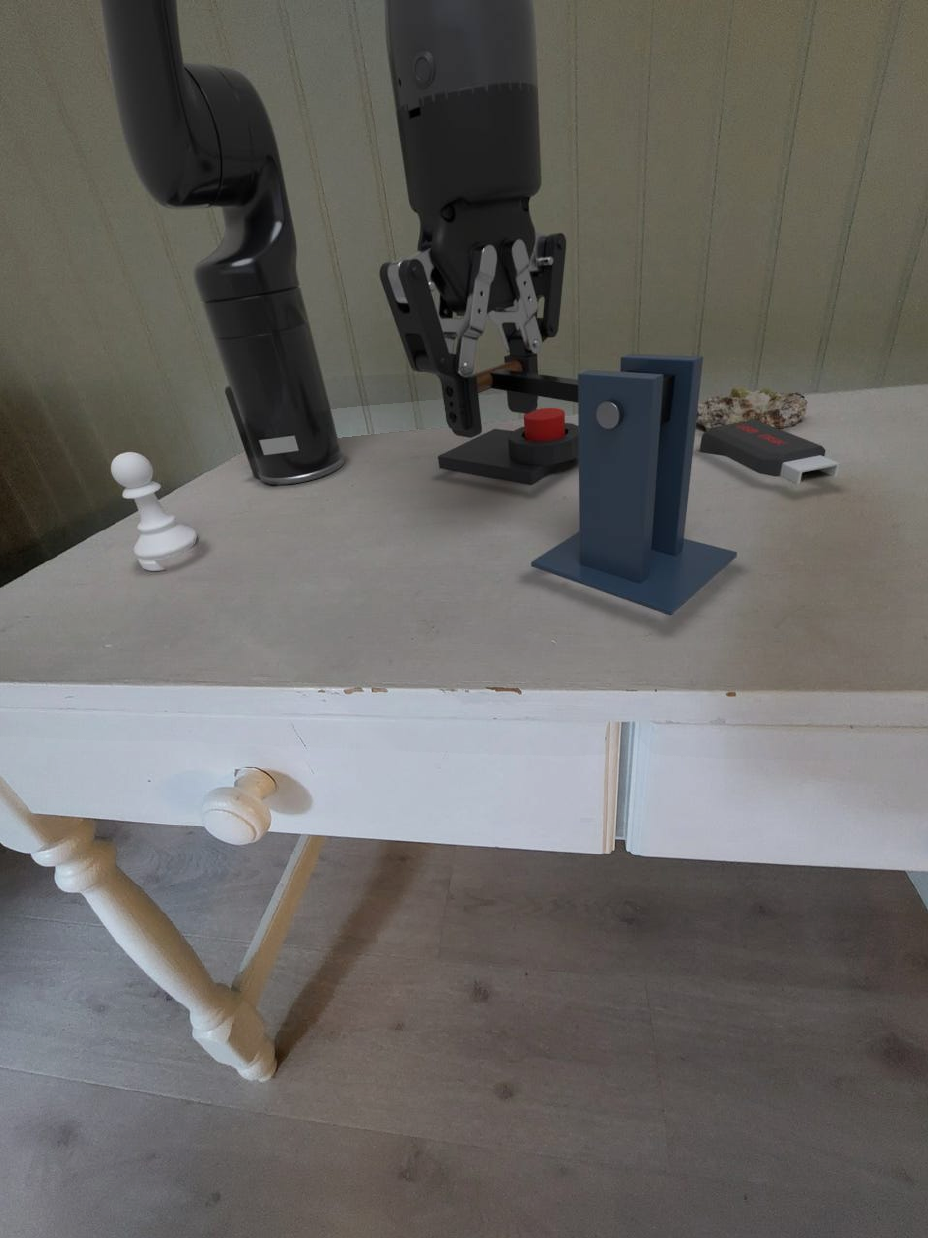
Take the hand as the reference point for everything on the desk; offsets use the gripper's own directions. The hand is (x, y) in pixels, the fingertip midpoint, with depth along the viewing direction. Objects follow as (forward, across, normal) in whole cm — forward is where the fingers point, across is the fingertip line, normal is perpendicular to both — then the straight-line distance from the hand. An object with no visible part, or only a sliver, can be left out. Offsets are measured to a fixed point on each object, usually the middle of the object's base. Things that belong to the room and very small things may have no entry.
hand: (495, 421), depth 39 cm
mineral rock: (+9, -32, +5) cm, 33 cm away
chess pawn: (+9, +18, -22) cm, 30 cm away
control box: (+9, -11, -9) cm, 17 cm away
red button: (+5, -11, -5) cm, 13 cm away
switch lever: (-1, 0, +6) cm, 6 cm away
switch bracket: (+9, 0, +11) cm, 14 cm away
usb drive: (+9, -21, +11) cm, 25 cm away
